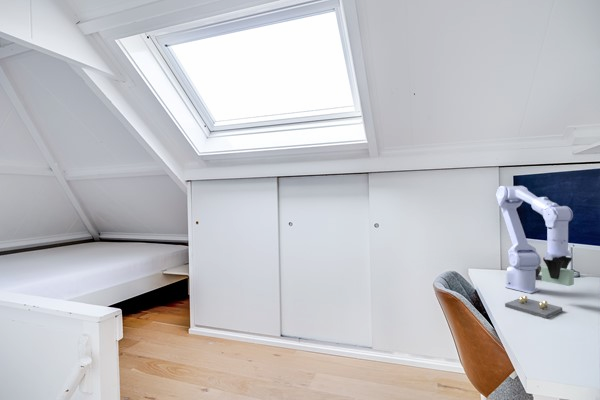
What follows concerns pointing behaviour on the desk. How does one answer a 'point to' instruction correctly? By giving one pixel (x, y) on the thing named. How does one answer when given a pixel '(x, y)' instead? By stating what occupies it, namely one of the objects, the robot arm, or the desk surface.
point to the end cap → (538, 270)
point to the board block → (564, 277)
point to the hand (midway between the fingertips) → (557, 277)
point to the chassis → (534, 307)
